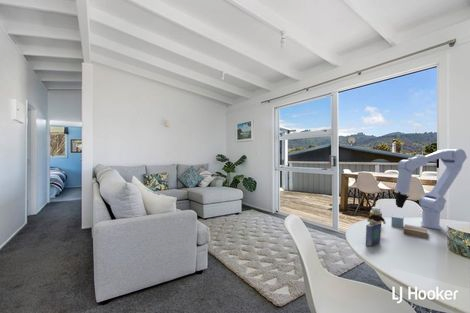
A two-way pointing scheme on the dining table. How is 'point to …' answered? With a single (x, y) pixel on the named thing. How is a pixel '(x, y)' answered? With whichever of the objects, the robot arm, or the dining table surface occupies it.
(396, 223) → the slate cube
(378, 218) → the grandmother figurine
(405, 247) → the dining table surface
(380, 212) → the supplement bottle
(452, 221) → the dining table surface
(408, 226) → the walnut block
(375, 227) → the flask
